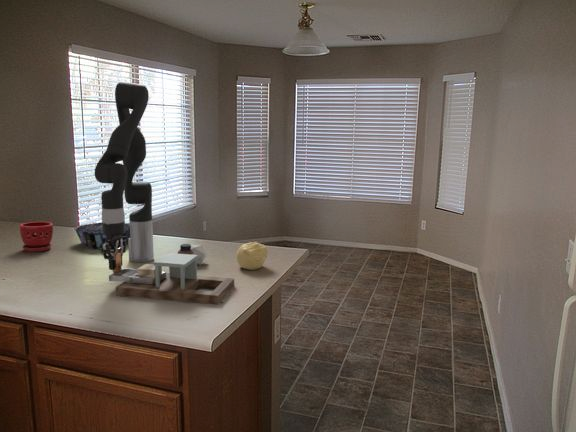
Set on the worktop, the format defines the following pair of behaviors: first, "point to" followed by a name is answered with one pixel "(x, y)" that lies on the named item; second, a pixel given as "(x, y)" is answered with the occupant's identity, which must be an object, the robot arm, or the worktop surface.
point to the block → (148, 270)
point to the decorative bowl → (95, 234)
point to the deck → (170, 289)
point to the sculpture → (251, 255)
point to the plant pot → (36, 236)
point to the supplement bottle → (185, 249)
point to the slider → (119, 272)
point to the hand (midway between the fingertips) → (115, 267)
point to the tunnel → (177, 267)
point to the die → (199, 253)
